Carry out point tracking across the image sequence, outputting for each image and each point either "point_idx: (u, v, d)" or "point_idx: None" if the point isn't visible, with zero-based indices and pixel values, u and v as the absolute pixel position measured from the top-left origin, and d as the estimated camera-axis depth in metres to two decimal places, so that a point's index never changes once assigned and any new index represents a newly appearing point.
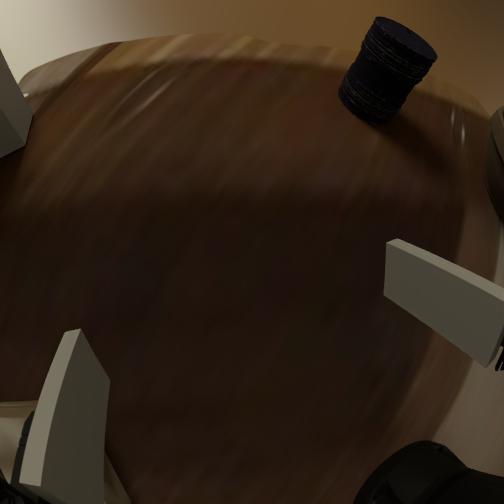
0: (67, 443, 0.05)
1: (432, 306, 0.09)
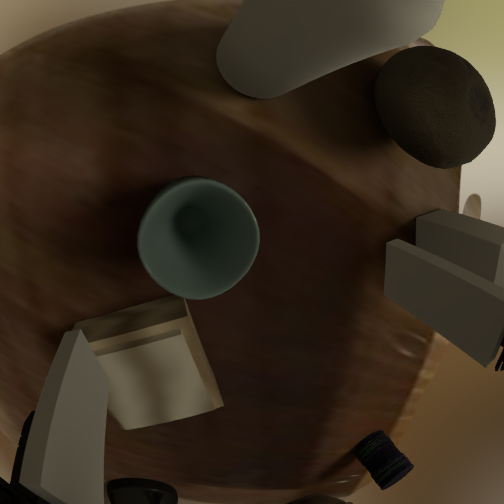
0: (68, 443, 0.05)
1: (432, 306, 0.09)
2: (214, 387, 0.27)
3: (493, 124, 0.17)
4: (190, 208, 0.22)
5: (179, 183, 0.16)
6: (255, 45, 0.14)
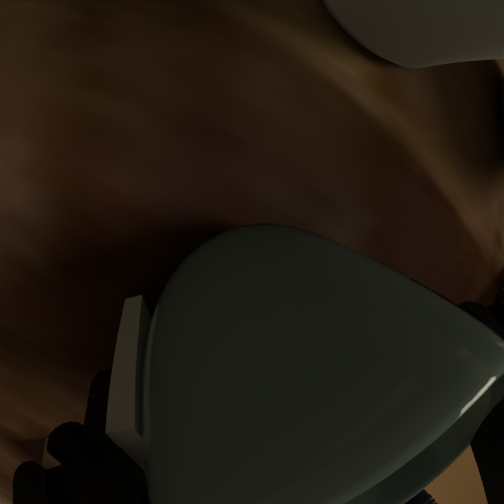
0: None
1: None
2: None
3: None
4: None
5: (419, 420, 0.02)
6: None
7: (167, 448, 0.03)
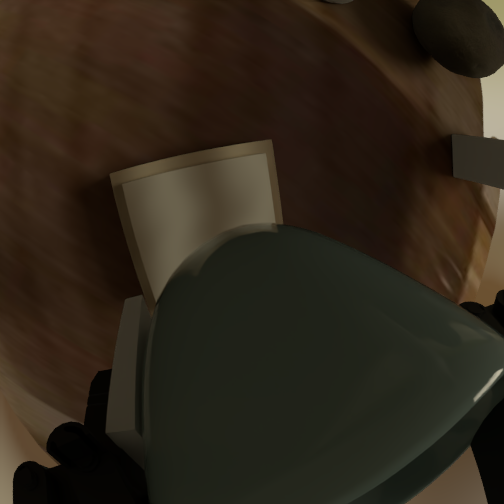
0: None
1: None
2: None
3: None
4: None
5: (422, 420, 0.02)
6: None
7: (167, 449, 0.03)
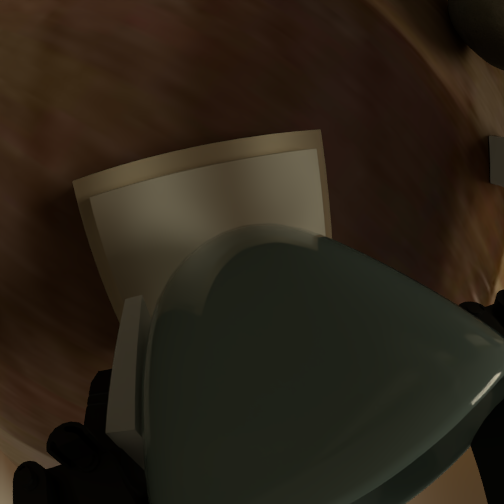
0: None
1: None
2: None
3: None
4: None
5: (422, 421, 0.02)
6: None
7: (167, 450, 0.03)
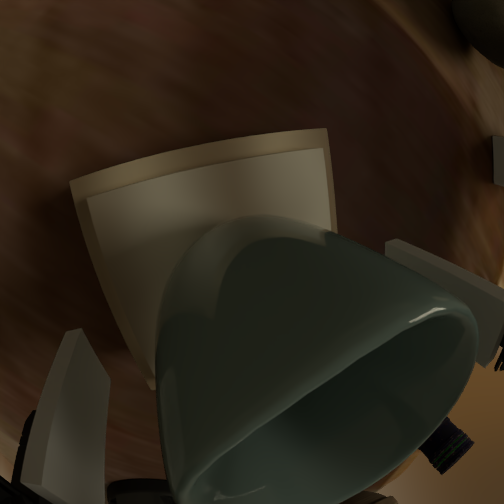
0: (69, 443, 0.05)
1: None
2: None
3: None
4: None
5: (361, 329, 0.03)
6: None
7: (178, 379, 0.04)
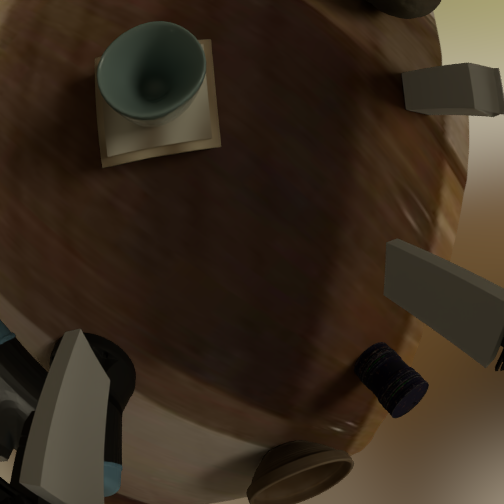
0: (68, 443, 0.05)
1: (432, 306, 0.09)
2: (216, 115, 0.27)
3: None
4: (157, 75, 0.20)
5: (144, 24, 0.13)
6: None
7: None
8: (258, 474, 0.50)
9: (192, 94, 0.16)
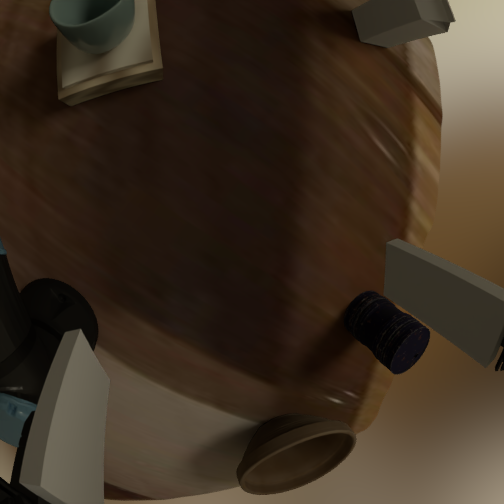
0: (68, 443, 0.05)
1: (432, 306, 0.09)
2: (158, 44, 0.24)
3: None
4: (102, 13, 0.17)
5: None
6: None
7: None
8: (247, 452, 0.48)
9: (119, 5, 0.14)
